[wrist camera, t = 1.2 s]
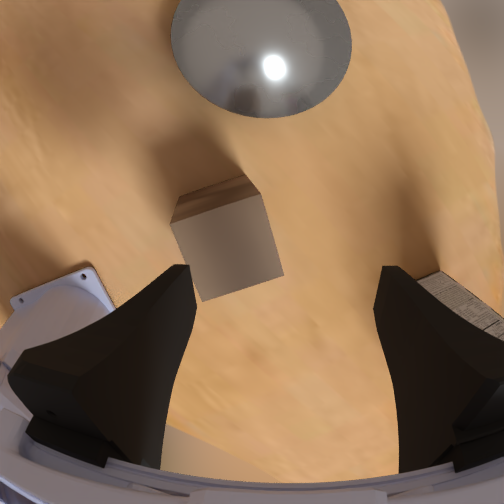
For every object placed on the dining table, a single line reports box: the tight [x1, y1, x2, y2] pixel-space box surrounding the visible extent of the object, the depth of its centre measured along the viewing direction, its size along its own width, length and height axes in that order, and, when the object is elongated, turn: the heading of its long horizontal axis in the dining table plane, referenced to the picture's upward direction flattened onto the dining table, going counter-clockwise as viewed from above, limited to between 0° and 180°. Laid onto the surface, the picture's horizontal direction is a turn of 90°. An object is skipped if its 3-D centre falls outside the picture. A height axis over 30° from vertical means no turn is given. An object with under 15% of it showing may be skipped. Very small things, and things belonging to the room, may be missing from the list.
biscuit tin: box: [171, 0, 352, 118], centre depth 16 cm, size 10×10×3 cm
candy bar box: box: [416, 271, 504, 341], centre depth 20 cm, size 11×5×16 cm, turn 14°
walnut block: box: [170, 175, 284, 302], centre depth 18 cm, size 4×4×6 cm
